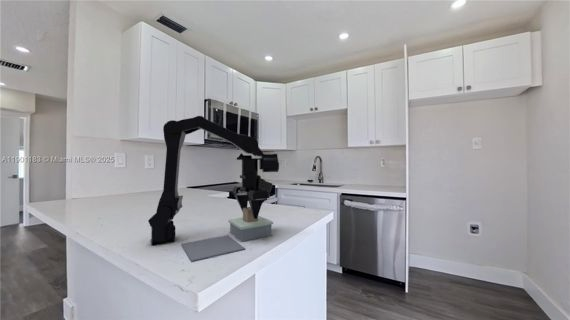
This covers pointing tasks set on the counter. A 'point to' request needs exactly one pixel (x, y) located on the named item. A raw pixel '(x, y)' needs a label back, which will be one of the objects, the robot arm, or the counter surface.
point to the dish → (250, 232)
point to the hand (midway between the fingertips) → (250, 216)
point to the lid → (249, 220)
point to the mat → (211, 247)
